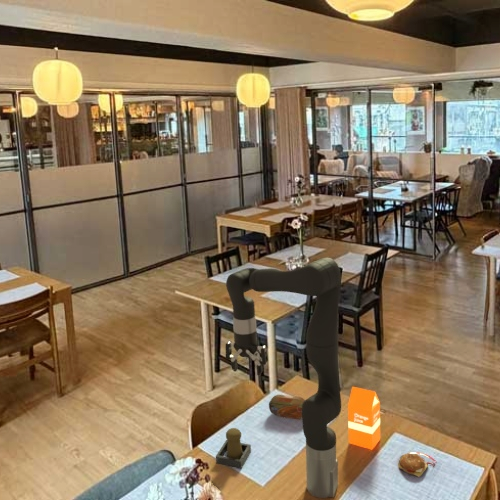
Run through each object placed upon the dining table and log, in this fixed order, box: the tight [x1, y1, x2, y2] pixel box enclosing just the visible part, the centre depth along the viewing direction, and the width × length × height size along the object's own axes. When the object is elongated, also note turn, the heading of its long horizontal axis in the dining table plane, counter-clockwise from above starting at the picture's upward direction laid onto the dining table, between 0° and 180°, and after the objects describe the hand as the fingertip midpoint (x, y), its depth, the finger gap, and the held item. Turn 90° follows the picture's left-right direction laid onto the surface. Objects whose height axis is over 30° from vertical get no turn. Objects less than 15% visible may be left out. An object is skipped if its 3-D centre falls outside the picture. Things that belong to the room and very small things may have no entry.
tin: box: [268, 394, 306, 420], centre depth 208 cm, size 15×3×8 cm, turn 73°
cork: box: [225, 427, 244, 460], centre depth 186 cm, size 6×6×11 cm
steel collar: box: [215, 439, 252, 470], centre depth 187 cm, size 9×9×3 cm
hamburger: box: [397, 451, 438, 478], centre depth 179 cm, size 14×14×6 cm
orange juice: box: [347, 386, 381, 451], centre depth 191 cm, size 8×9×20 cm
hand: (247, 372), depth 184 cm, fingers open, 8 cm apart
